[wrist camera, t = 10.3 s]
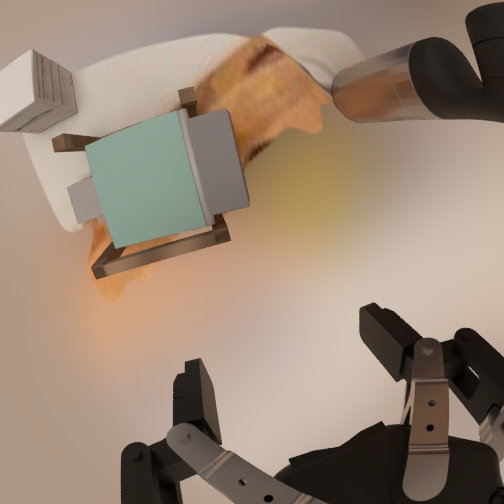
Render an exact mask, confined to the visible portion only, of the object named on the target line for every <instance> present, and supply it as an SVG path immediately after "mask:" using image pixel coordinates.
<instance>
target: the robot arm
mask: <svg viewBox="0 0 504 504" xmlns="http://www.w3.org/2000/svg"><path fill="white" fill-rule="evenodd" d="M465 24H466V28H467V32H468V35H469V38H470V41H471V44H472V47H473V51H474V54H475V57H476V61H477V64H478V68H479V71H480V75H481V79H482V81H481V80H480V79H479V77H478V76H477V74H476V73H475V71H474V70H473V68H472V66H471V65H470V63H469V62H468V60H467V58H466V57H465V56H464V54H463V53H462V52H461V51H460V50H459V49H458V48H457V47H456V46H455V45H454V44H452V43H451V42H449V41H448V40H445V39H443V38H438V37H431V38H427V39H423V40H420V41H417V42H414V43H411V44H408V45H405V46H402V47H400V48H397V49H394V50H391V51H389V52H386V53H383V54H381V55H378V56H376V57H373V58H371V59H368V60H366V61H363V62H361V63H359V64H356V65H354V66H352V67H349V68H347V69H345V70H343V71H341V72H340V73H339V74H338V75H337V76H336V77H335V79H334V82H333V86H332V93H333V98H334V101H335V104H336V106H337V108H338V109H339V110H340V112H341V113H342V114H343V115H344V116H345V117H347V118H348V119H350V120H351V121H354V122H356V123H370V122H386V121H403V120H430V119H475V120H488V121H496V122H501V123H504V2H499V3H492V4H487V5H483V6H480V7H478V8H476V9H474V10H473V11H471V12H470V13H468V15H467V16H466V19H465ZM359 314H360V315H359V317H360V318H359V320H360V321H359V322H360V324H359V332H360V336H361V339H362V341H363V342H364V343H365V344H366V346H367V347H368V348H369V349H370V351H371V352H372V353H373V354H374V355H375V357H376V358H377V359H378V360H379V361H380V363H381V364H382V365H383V366H384V367H385V369H386V370H387V371H388V372H389V374H390V375H391V376H392V377H393V379H394V380H395V381H396V382H398V381H400V380H402V379H405V380H406V385H405V396H404V405H403V413H402V418H401V422H400V424H394V425H387V426H385V425H384V423H383V422H382V421H381V422H379V423H377V424H375V425H373V426H371V427H369V428H366V429H364V430H362V431H360V432H359V433H358V434H356V435H355V436H354V437H352V438H351V439H350V440H349V441H347V442H345V443H344V444H343V445H341V446H339V447H334V448H328V449H322V450H315V451H311V452H308V453H305V454H302V455H299V456H296V457H293V458H290V459H289V462H290V465H288V466H286V467H285V468H283V469H282V470H280V471H279V472H278V473H277V474H276V475H275V476H274V477H271V476H270V475H268V474H266V473H265V472H263V471H261V470H260V469H258V468H256V467H255V466H253V465H252V464H250V463H249V462H247V461H246V460H244V459H243V458H241V457H240V456H238V455H237V454H235V453H234V452H232V451H226V450H225V449H223V448H222V447H221V446H219V445H222V440H221V434H220V428H219V422H218V415H217V408H216V401H215V394H214V388H213V384H212V381H211V379H210V377H209V375H208V373H207V370H206V368H205V366H204V364H203V362H202V360H201V358H198V359H194V360H190V361H186V362H185V373H181V374H178V375H177V376H176V378H175V380H174V383H173V392H174V393H173V427H172V428H171V429H170V430H169V432H168V433H167V437H166V438H165V439H163V440H162V441H159V442H157V443H154V444H152V445H150V446H147V445H146V444H144V443H141V442H134V443H131V444H129V445H128V446H126V447H125V448H124V450H123V452H122V454H121V504H183V501H182V495H181V489H180V482H179V481H182V480H184V479H187V478H189V477H191V476H194V475H196V474H198V475H199V476H200V477H202V478H203V479H204V480H205V481H206V482H208V483H209V484H210V485H211V486H213V487H214V488H215V489H216V490H218V491H219V492H220V493H222V494H223V495H224V496H225V497H227V498H228V499H229V500H231V501H232V502H233V503H235V504H504V485H503V482H502V479H501V474H500V467H499V462H500V461H501V460H502V459H503V458H504V357H503V356H502V355H501V354H500V353H499V352H497V350H495V349H494V348H493V347H492V346H491V345H490V344H489V343H488V342H487V341H486V340H485V339H484V338H482V337H481V336H480V335H479V334H478V333H477V332H476V331H474V330H473V329H470V328H461V329H459V330H457V331H456V333H455V336H454V339H451V340H447V341H444V342H439V341H437V340H436V339H433V338H423V337H422V336H420V334H418V333H417V332H416V331H415V330H414V329H413V328H412V327H411V326H410V325H409V324H407V323H405V321H404V320H403V319H402V318H400V316H398V315H397V314H396V313H395V312H394V311H392V310H389V309H387V308H384V309H381V308H380V307H379V306H378V305H377V304H376V303H374V302H373V303H371V304H368V305H366V306H363V307H361V308H360V311H359ZM469 366H470V367H471V368H472V370H473V371H475V373H476V374H477V375H478V377H479V378H478V377H477V376H476V375H475V374H474V373H473V372H472V371H471V370H470V369H469ZM449 388H450V389H451V390H452V391H453V393H454V394H455V395H456V396H457V397H458V399H459V400H460V401H461V402H462V404H463V405H464V406H465V408H466V409H467V410H468V411H469V413H470V414H471V415H472V416H473V418H474V419H475V420H476V422H477V423H478V424H479V426H480V427H479V435H480V442H477V441H472V440H467V439H462V438H457V437H453V436H448V429H449Z"/></svg>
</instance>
